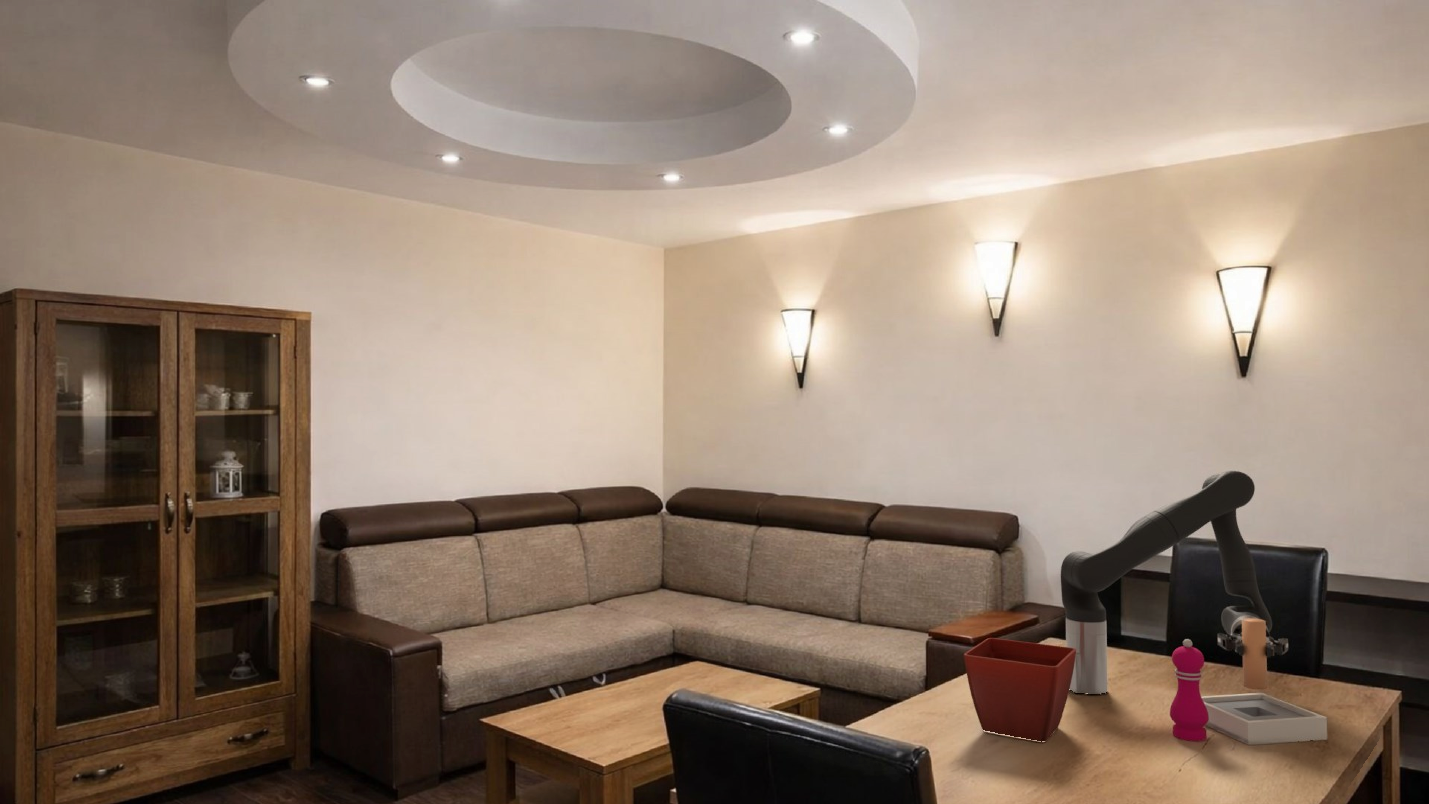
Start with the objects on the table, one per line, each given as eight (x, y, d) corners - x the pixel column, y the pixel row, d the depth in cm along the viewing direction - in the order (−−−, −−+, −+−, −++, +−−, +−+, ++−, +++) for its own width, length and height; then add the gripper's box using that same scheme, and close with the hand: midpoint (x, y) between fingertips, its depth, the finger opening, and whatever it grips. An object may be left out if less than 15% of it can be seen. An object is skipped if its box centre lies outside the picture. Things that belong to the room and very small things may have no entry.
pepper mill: (1206, 732, 198) (1204, 636, 199) (1212, 743, 191) (1209, 644, 192) (1168, 729, 201) (1166, 634, 201) (1172, 740, 194) (1170, 641, 194)
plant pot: (1078, 725, 203) (1077, 647, 204) (1058, 752, 187) (1056, 666, 188) (989, 712, 214) (988, 636, 214) (963, 735, 198) (962, 654, 198)
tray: (1248, 745, 190) (1247, 722, 190) (1189, 717, 208) (1188, 697, 208) (1327, 739, 193) (1326, 717, 193) (1262, 713, 211) (1261, 692, 211)
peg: (1253, 690, 198) (1251, 623, 199) (1238, 684, 203) (1236, 618, 203) (1272, 688, 199) (1270, 622, 199) (1256, 683, 203) (1255, 617, 204)
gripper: (1214, 615, 217) (1216, 630, 202) (1286, 620, 211) (1294, 636, 196) (1215, 648, 217) (1217, 666, 202) (1287, 654, 211) (1295, 673, 195)
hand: (1255, 651), depth 199 cm, fingers closed on peg, 4 cm apart
